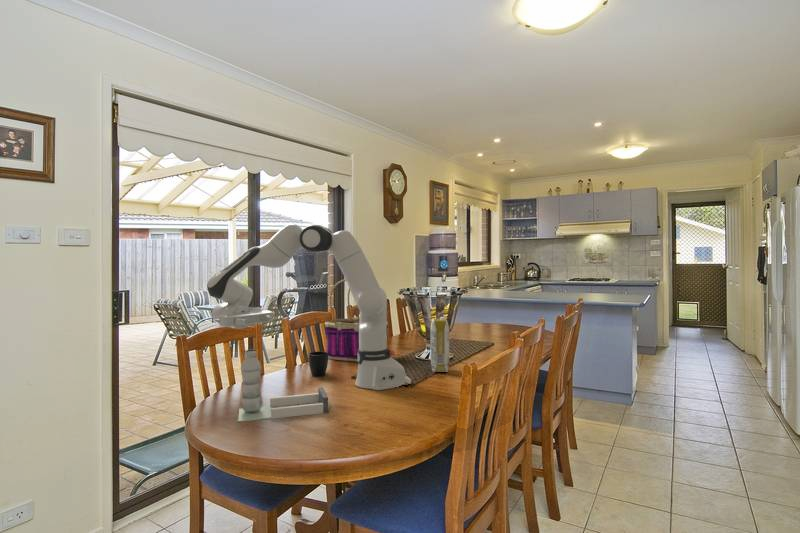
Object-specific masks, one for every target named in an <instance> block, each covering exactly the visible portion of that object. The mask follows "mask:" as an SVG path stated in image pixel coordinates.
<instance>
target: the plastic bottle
mask: <svg viewBox="0 0 800 533" xmlns="http://www.w3.org/2000/svg"><path fill="white" fill-rule="evenodd" d="M257 351H258V350H257V349H246V350H245V351H244V357H245V358H244V360H243V361H242V363H241V365H240V373H241V374H240V375H241V380H242V397H241V398H242V399H241V408H242V409H243V410H244V411H245V412H255V411H259V410H260V409H261V408H262V406H263V405H264V404H263V397H262V396H263V395H262V391H261V376H262V375H261V374H262V373H261V372H262V364H261V362H260V360H259V359H258V358H257V356H258V352H257Z"/></svg>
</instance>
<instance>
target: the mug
mask: <svg viewBox="0 0 800 533" xmlns="http://www.w3.org/2000/svg"><path fill="white" fill-rule="evenodd" d="M328 364H329V359H328V352H327V351H323V350H322V351H320V350H319V351H311V352H309V353H308V365H309V366H308V367H309V370H310V374H311V376H312V377H314V378H315V377H316V378H320V377H324V376H326V372H327V369H328Z"/></svg>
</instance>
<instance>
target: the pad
mask: <svg viewBox="0 0 800 533" xmlns="http://www.w3.org/2000/svg"><path fill="white" fill-rule="evenodd" d="M271 408H272V407H270V404H269V405H262V408H261V409H260V410H259V411H255V412H245V411H244V410H243V409H242V407H241V408H239V410H238V417H237V418H238V419H237V423H244V422H245V423H246V422H252V421H261V420H270V419H271Z"/></svg>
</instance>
